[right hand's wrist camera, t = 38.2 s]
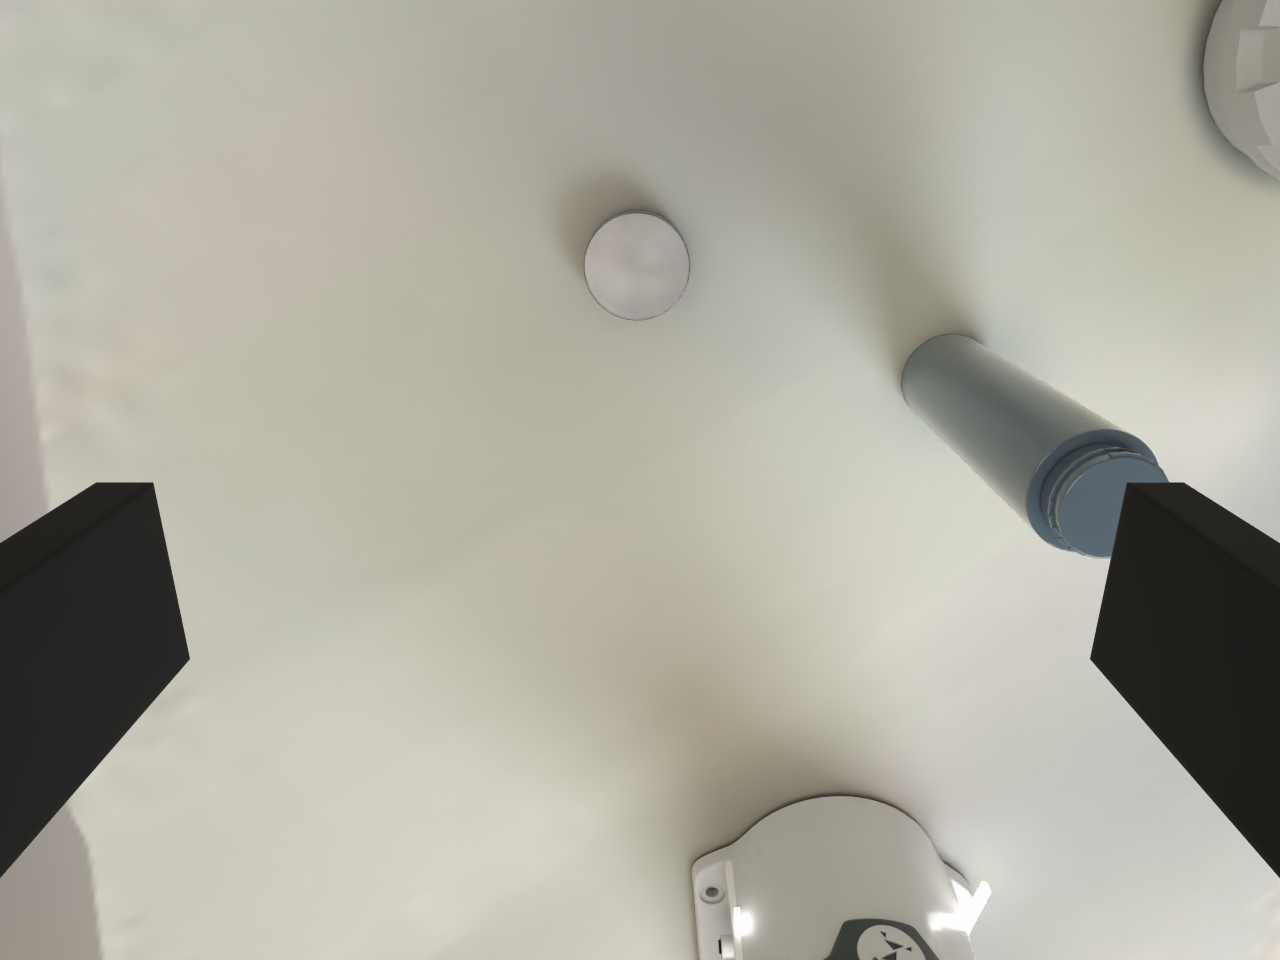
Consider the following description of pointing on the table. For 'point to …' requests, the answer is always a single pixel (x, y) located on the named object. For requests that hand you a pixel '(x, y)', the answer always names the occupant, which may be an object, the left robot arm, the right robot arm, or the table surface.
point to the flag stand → (1246, 78)
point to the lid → (636, 265)
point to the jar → (1029, 442)
